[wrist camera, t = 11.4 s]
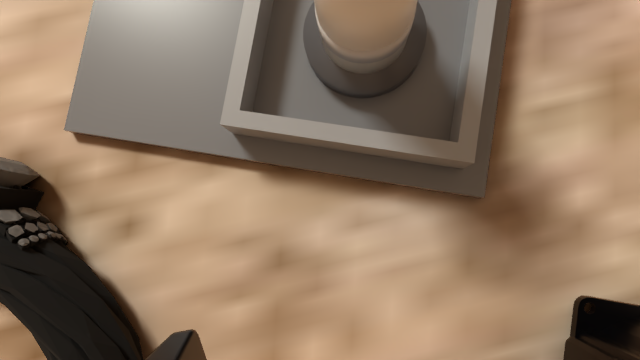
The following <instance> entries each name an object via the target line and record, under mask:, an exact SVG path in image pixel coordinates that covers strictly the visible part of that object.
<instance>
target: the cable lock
mask: <svg viewBox="0 0 640 360" xmlns="http://www.w3.org/2000/svg"><path fill="white" fill-rule="evenodd" d="M39 176H40V175H39V174H38V173H37V172H35V171H34V170H32V169H31V168H29V167H28V166H26V165H25V164H23V163H22V162H18V161H14V160H10V159H6V158H2V157H0V302H1V303H2V304H4V305H5V306H6V307H7V308H8V309H9V310H10V311H11V312H12V313H13V314H14V315H15V316H16V317H17V318H18V319H19V320H20V321H21V322H22V323H23V324H24V325H25V326H26V327H27V328H28V329H29V331H30V332H31V333H32V335H33V336H34V338H35V340H36V341H37V343H38V345H39V346H40V348H41V350H42V351H43V353H44V355H45V356H46V358H47V360H143V356H142V351H141V347H140V342H139V337H138V336H137V334H136V332H135V331H134V329H133V327H132V326H131V324H130V323H129V321H128V319H127V318H126V316H125V315H124V313H123V311H122V310H121V308H120V306H119V305H118V303H117V302H116V300H115V298H114V297H113V296H112V295H111V293H110V292H109V291H108V290H107V289H106V287H105V286H104V285H103V284H102V282H101V281H100V280H99V279H98V278H97V276H96V275H95V274H94V273H93V272H92V270H91V269H90V267H89V266H87V264H86V263H85V262H84V261H82V260H81V259H80V258H79V257H77V256H76V255H75V254H74V253H73V252H72V251H71V250H70V249H69V248H67V247H66V246H65V245H66V243H68V242H67V240H66V238H65V237H64V236H63V235H61V232H60V231H59V229H58V228H57V227H56V225H55V226H54V225H53V224H52V222H51V221H50V220H49V218H48V217H47V216H45V215H44V214H42V213H40V212H39V211H37V210H36V211H35V209H36V207H37V205H38V203H39V202H40V200H41V198H42V196H43V194H44V192H42V191H39V190H35V189H32V188H29V187H26V186H23V185H25V184H27V183H28V182H30V181H32V180H34V179H35V178H37V177H39ZM46 223H47V225H46Z"/></svg>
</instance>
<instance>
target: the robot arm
mask: <svg viewBox="0 0 640 360" xmlns="http://www.w3.org/2000/svg"><path fill="white" fill-rule="evenodd" d="M586 303H590V305H591V308H590V310H589V311H588V312H585V310H584V306H585V304H586ZM145 360H207V359H206V356H205V353H204V350H203V347H202V344H201V341H200V338H199V336H198V334H197V332H196V331H195V330H193V329H191V330H186V331H180V332H175V333H173V334H172V335H170V336H169V337H168V338H167V339H166V340H165V341H164V342H163V343H162V344H161V345H160V346H159V347H158V348H157V349H156V350H154V351H153V352H152V353H151V354H150V355H149V356H148V357H147V358H146V359H145ZM564 360H640V305H635V304H629V303H624V302H618V301H613V300H607V299H602V298H596V297H591V296H580V297H578V298H577V299H576V300H575V302H574V307H573V315H572V324H571V333H570V338H568V339H567V340H566V343H565V351H564Z"/></svg>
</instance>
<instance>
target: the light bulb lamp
mask: <svg viewBox="0 0 640 360" xmlns="http://www.w3.org/2000/svg"><path fill="white" fill-rule="evenodd" d="M426 36H427V26H426V19H425V15H424V12H423V9H422V7H421V5H420V4H419V2H418V0H314V2H313V3H312V5H311V7H310V8H309V10H308V13H307V15H306V18H305V22H304V28H303V42H304V48H305V51H306V54H307V58H308V61H309V64H310V66H311V68H312V70H313V71H314V73H315V75H316V76H317V77H318V78H319V79H320V81H321V82H322V83H324V84H325V85H326V86H327V87H329V88H330V89H332V90H333V91H335V92H337V93H339V94H342V95H345V96H349V97H354V98H372V97H377V96H381V95H384V94H386V93H388V92H391V91H393V90H394V89H396V88H397V87H399V86H400V85H402V84H403V83H404V82H405V81H406V80H407V79H408V78H409V77H410V76H411V74H412V73H413V72H414V70H415V69H416V67H417V65H418V63H419V60H420V58H421V55H422V53H423V50H424V47H425V43H426Z"/></svg>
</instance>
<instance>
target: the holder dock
mask: <svg viewBox="0 0 640 360" xmlns="http://www.w3.org/2000/svg"><path fill="white" fill-rule="evenodd" d="M313 2H314V0H94V2H93V6H92V11H91V15H90V19H89V24H88V28H87V32H86V37H85V41H84V45H83V50H82V54H81V58H80V63H79V67H78V71H77V76H76V80H75V84H74V89H73V93H72V98H71V102H70V106H69V111H68V115H67V119H66V124H65V128H64V130H66V131H69V132H72V133H78V134H85V135H91V136H97V137H103V138H109V139H116V140H122V141H128V142H134V143H140V144H147V145H153V146H159V147H165V148H172V149H178V150H184V151H190V152H196V153H203V154H209V155H215V156H221V157H227V158H234V159H240V160H246V161H252V162H258V163H265V164H271V165H277V166H283V167H290V168H296V169H302V170H308V171H314V172H321V173H327V174H333V175H339V176H345V177H352V178H358V179H364V180H370V181H377V182H383V183H389V184H395V185H401V186H408V187H414V188H420V189H426V190H432V191H439V192H445V193H451V194H457V195H464V196H470V197H476V198H485V190H486V183H487V176H488V168H489V161H490V154H491V146H492V139H493V132H494V124H495V117H496V110H497V102H498V95H499V88H500V80H501V73H502V66H503V58H504V51H505V44H506V36H507V29H508V22H509V14H510V7H511V0H418V2H419V4H420V5H421V7H422V9H423V12H424V15H425V19H426V26H427V36H426V43H425V47H424V50H423V53H422V55H421V58H420V60H419V63H418V65H417V67H416V69H415V70H414V72H413V73H412V74H411V76H410V77H409V78H408V79H407V80H406V81H405V82H404V83H403V84H402V85H400V86H399V87H397V88H396V89H394V90H393V91H391V92H388V93H386V94H384V95H381V96H377V97H372V98H354V97H349V96H345V95H342V94H339V93H337V92H335V91H333V90H332V89H330V88H329V87H327V86H326V85H325V84H324V83H322V82H321V81H320V79H319V78H318V77H317V76H316V75H315V73H314V71H313V70H312V68H311V66H310V64H309V61H308V58H307V54H306V51H305V48H304V42H303V28H304V22H305V18H306V15H307V13H308V10H309V8H310V7H311V5H312V3H313Z"/></svg>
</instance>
